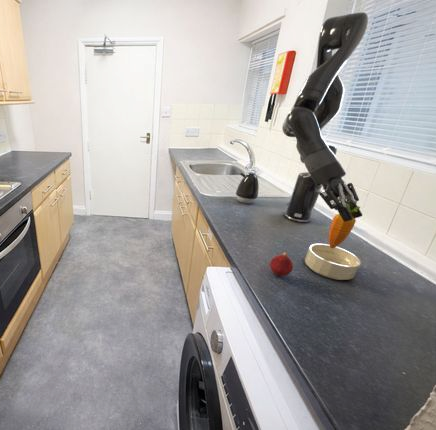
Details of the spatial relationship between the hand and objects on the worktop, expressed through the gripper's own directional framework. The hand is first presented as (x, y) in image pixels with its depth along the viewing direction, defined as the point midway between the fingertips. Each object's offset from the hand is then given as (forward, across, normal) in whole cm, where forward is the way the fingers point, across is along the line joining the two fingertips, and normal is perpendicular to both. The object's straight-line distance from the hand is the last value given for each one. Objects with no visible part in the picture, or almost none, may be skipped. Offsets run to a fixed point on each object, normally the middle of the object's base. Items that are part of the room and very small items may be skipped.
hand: (353, 218), depth 76 cm
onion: (+9, -18, +17) cm, 26 cm away
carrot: (+7, 0, +9) cm, 11 cm away
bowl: (+13, +1, +14) cm, 19 cm away
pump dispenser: (-23, +25, +50) cm, 61 cm away
